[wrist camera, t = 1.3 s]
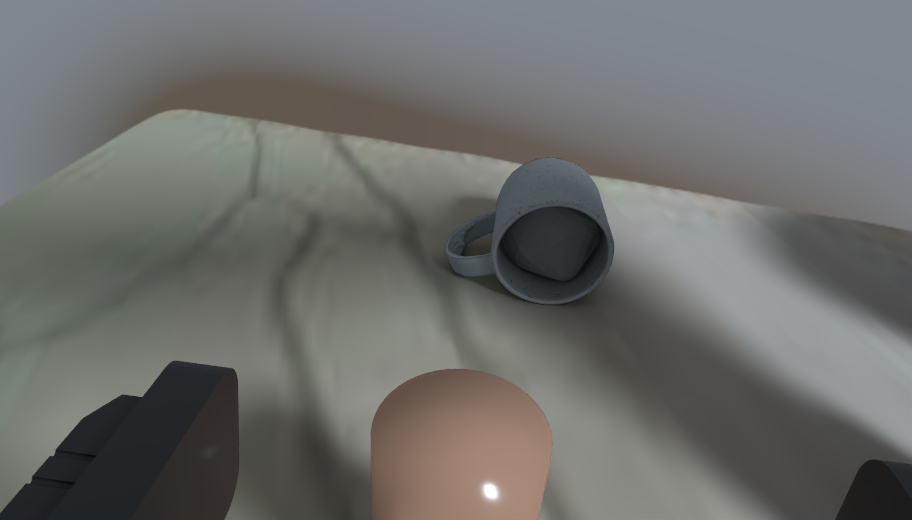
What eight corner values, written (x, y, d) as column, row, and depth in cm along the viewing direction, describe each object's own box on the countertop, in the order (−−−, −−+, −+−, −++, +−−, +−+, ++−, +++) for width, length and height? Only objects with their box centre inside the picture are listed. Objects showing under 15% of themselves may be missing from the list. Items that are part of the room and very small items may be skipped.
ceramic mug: (590, 240, 53) (607, 147, 49) (603, 310, 46) (624, 209, 42) (448, 232, 53) (452, 138, 49) (441, 300, 47) (445, 198, 42)
